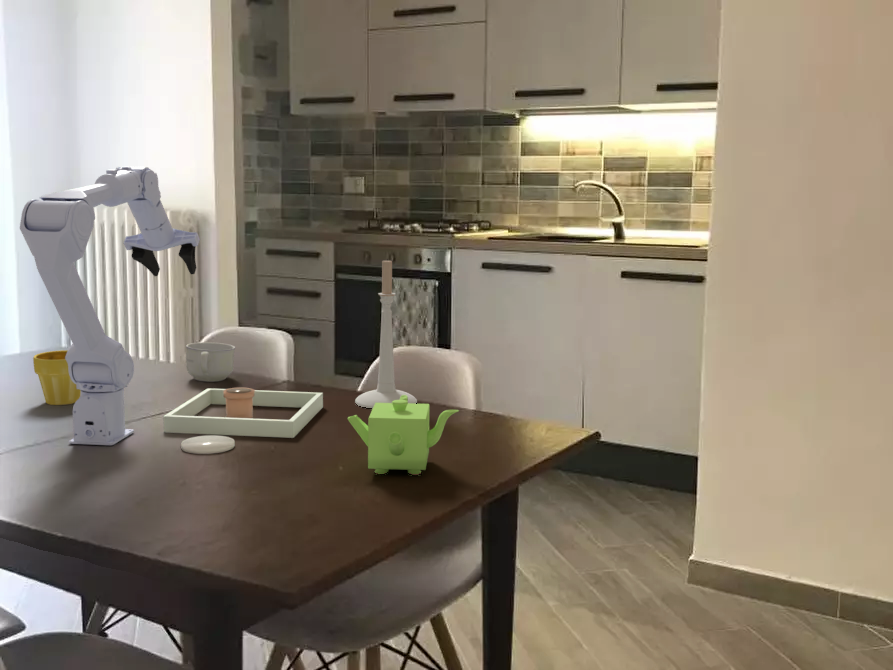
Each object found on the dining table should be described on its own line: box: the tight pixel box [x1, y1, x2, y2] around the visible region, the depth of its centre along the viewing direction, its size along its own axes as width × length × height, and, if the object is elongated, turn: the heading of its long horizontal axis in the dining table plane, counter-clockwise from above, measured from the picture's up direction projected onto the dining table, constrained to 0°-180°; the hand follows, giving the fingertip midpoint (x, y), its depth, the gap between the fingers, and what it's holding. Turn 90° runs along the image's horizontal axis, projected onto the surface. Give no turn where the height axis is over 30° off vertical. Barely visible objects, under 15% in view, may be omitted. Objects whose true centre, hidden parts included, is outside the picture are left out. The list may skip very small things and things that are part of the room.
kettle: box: [347, 395, 460, 474], centre depth 162 cm, size 15×14×11 cm
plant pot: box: [32, 349, 81, 406], centre depth 203 cm, size 10×10×10 cm
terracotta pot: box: [223, 387, 256, 419], centre depth 190 cm, size 6×6×6 cm
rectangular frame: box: [163, 388, 324, 439], centre depth 192 cm, size 24×24×3 cm
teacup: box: [185, 341, 236, 383], centre depth 226 cm, size 14×11×8 cm
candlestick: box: [354, 258, 418, 410], centre depth 205 cm, size 13×13×30 cm
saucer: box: [180, 434, 236, 455], centre depth 173 cm, size 9×9×1 cm
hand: (175, 271), depth 200 cm, fingers open, 7 cm apart
